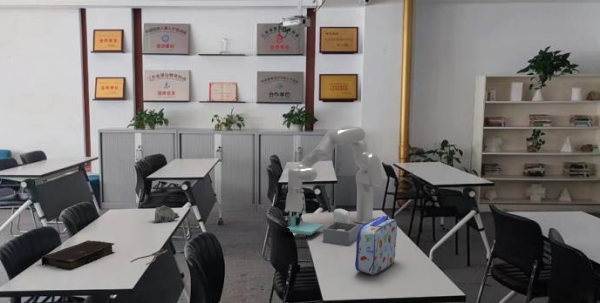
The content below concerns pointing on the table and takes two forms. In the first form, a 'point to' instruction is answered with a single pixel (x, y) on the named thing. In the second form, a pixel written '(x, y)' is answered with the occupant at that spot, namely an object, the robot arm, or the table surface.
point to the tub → (340, 233)
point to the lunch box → (376, 245)
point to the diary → (78, 255)
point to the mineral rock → (165, 214)
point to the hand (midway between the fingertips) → (295, 223)
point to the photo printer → (341, 216)
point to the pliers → (152, 255)
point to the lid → (304, 227)
